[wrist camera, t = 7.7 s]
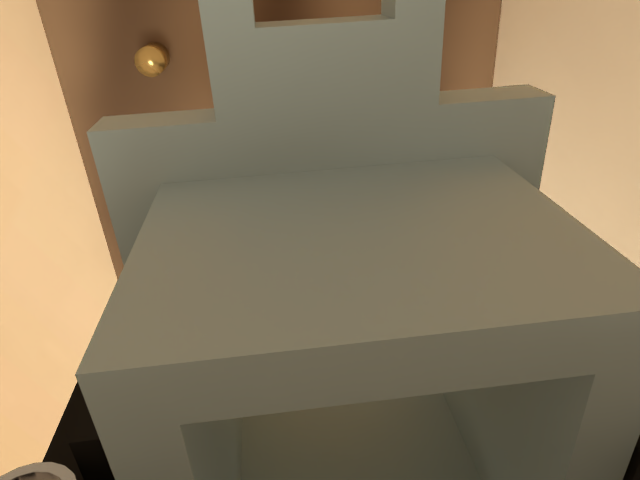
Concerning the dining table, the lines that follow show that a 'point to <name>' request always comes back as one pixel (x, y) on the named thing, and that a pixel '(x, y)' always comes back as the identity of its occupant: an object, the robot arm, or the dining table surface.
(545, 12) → the dining table surface
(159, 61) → the brass dowel
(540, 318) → the grey bracket housing
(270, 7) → the post board
